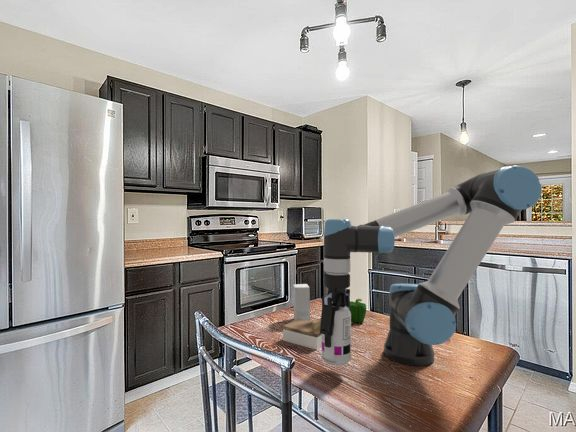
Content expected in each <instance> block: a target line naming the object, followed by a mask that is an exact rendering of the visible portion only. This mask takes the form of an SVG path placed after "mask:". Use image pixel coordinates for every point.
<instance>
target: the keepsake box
mask: <svg viewBox="0 0 576 432" xmlns="http://www.w3.org/2000/svg"><path fill="white" fill-rule="evenodd" d="M282 341H283V342H288V343H291V344H294V345H298V346H301V347H306V348H309V349H312V350H319V349H320V348H322V334H320V335H319V336H312V335H309V334H304V333H300V332H296V331H293V330H289V329H285V328H283V329H282Z"/></svg>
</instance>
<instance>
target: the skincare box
mask: <svg viewBox="0 0 576 432" xmlns="http://www.w3.org/2000/svg"><path fill="white" fill-rule="evenodd" d="M292 285H293V286H292V287H293V288H292V290H293V292H292V294H293V321H294V320H296V319H302V320H307V321H311V303H310V302H311V299H310V298H311V297H310V296H311V295H310V294H311V293H310V286H309V285H308V283H299V284H298V283H297V284H295V283H293V284H292Z"/></svg>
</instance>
